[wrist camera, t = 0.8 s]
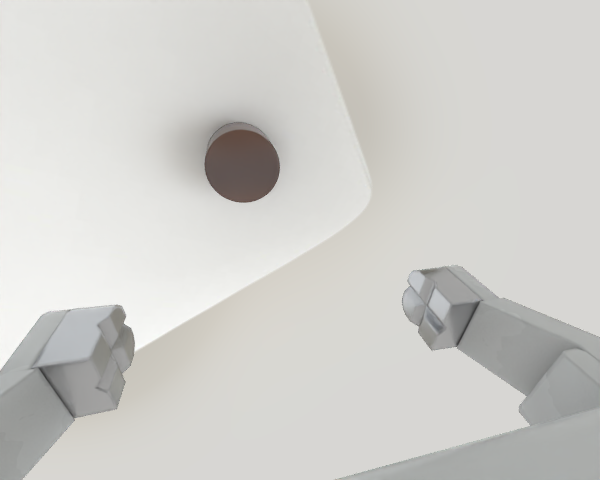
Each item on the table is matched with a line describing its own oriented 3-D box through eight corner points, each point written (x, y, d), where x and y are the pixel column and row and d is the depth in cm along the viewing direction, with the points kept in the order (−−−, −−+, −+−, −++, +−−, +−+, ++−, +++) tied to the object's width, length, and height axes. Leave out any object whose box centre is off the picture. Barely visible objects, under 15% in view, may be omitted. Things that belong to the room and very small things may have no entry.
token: (202, 122, 20) (199, 129, 17) (273, 122, 21) (280, 129, 18) (210, 189, 22) (209, 204, 20) (273, 187, 23) (279, 201, 21)
